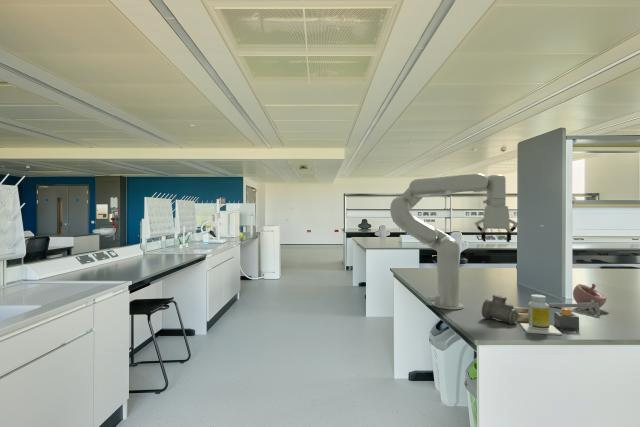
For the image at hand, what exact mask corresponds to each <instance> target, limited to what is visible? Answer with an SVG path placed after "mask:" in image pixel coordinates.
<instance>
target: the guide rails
mask: <svg viewBox="0 0 640 427" xmlns="http://www.w3.org/2000/svg"><path fill="white" fill-rule="evenodd" d="M514 309H516V310H517V312H518V319H517V322H520V323H529V310H528V307H518V306H517V307H515V306H514Z"/></svg>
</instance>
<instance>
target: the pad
mask: <svg viewBox="0 0 640 427" xmlns="http://www.w3.org/2000/svg"><path fill="white" fill-rule="evenodd" d="M519 325H520V327H521V328H522V329H523V330H524V332H526V333H527V334H543V335H553V336H563V333H562V332H561V330H560V329H558V328H557V327H556V326H555V325H551V324H549V329H547V330H539V329H534V328H531V327H530V326H529V323H528V322H520V323H519Z"/></svg>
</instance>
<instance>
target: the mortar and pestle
mask: <svg viewBox="0 0 640 427" xmlns="http://www.w3.org/2000/svg"><path fill="white" fill-rule="evenodd" d="M596 287H597V286H596V284H595V283H592V284H591V287H590V286H588V285H586V284H581V283H578V284H576V286H575V287H574V288H573V290H572V297H573V299H574V301H575V302H576V303H575V304H579V303H592V302H591V300H593V301H595V300H596V303H598V304H599V307H600V308H601V307H603V306H604V305H605V304H606V302H607V297H606V296H605V295H604V294H602V293H601V292H600V291H598V290H596ZM593 309H594V310H596V309H595V308H593ZM587 310H589V308H588V309H587Z"/></svg>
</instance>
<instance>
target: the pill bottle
mask: <svg viewBox="0 0 640 427" xmlns="http://www.w3.org/2000/svg"><path fill="white" fill-rule="evenodd" d="M530 298H531V301H529V302H528V304H527V305H528V307H527V308H528V310H529V322H528V324H529V326H530V327H531V328H534V329H539V330H547V329H549V325H550V306H549V305H548V304H549V303H547V302H546V300H547V297H546V295H543V294H531V295H530Z"/></svg>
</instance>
